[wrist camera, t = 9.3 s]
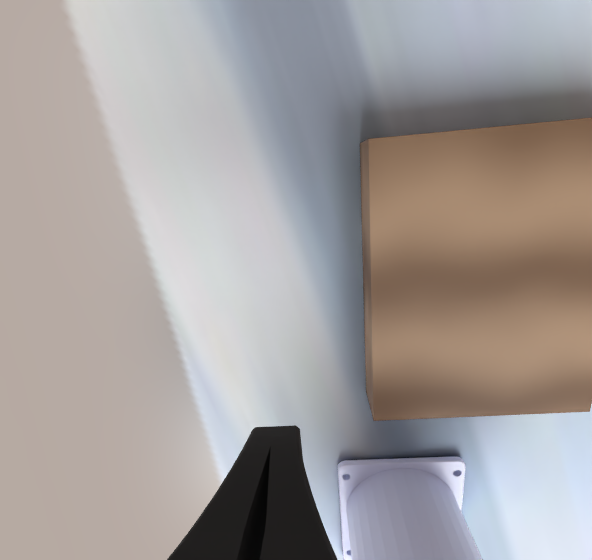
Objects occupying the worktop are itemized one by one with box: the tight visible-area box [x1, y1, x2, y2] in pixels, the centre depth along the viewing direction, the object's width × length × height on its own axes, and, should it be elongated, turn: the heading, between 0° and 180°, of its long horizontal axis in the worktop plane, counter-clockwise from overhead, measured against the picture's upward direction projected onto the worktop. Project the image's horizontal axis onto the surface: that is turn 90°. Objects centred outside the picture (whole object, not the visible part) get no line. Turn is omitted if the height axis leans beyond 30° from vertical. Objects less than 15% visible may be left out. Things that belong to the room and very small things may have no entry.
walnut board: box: [360, 118, 592, 421], centre depth 17 cm, size 14×11×2 cm
